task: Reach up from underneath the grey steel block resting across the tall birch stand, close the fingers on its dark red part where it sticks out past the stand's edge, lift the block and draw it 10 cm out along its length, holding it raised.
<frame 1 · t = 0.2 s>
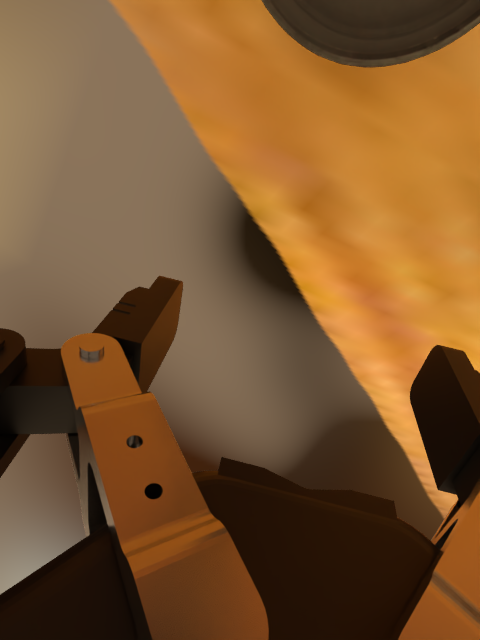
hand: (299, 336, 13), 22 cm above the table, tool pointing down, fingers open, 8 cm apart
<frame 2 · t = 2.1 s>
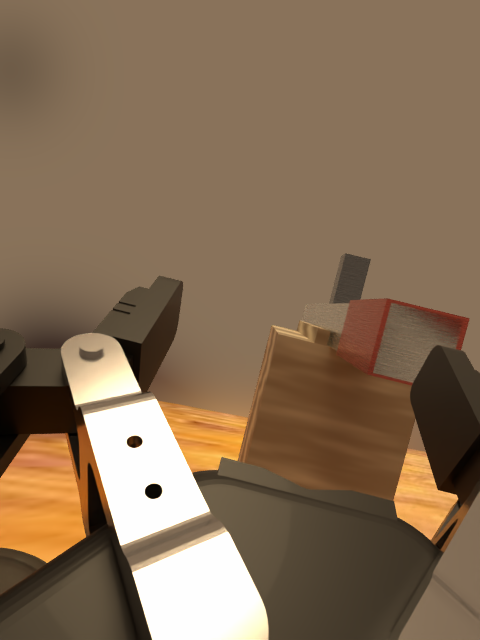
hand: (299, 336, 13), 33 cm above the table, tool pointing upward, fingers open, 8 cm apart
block: (337, 344, 38), point 32 cm above the table, touching stand
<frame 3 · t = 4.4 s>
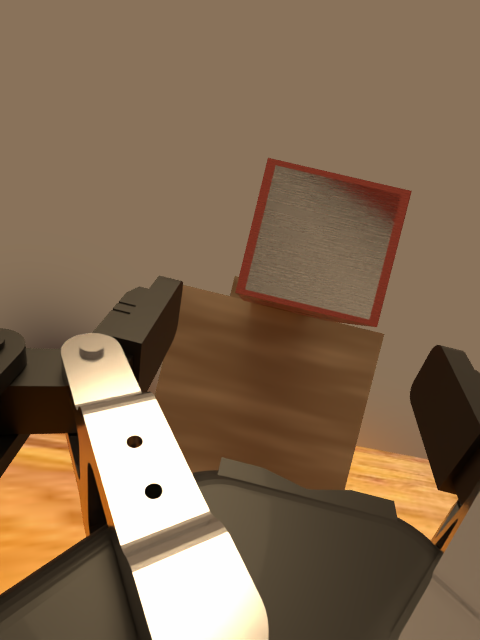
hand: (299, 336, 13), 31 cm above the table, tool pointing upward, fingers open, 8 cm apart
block: (275, 309, 29), point 32 cm above the table, touching stand
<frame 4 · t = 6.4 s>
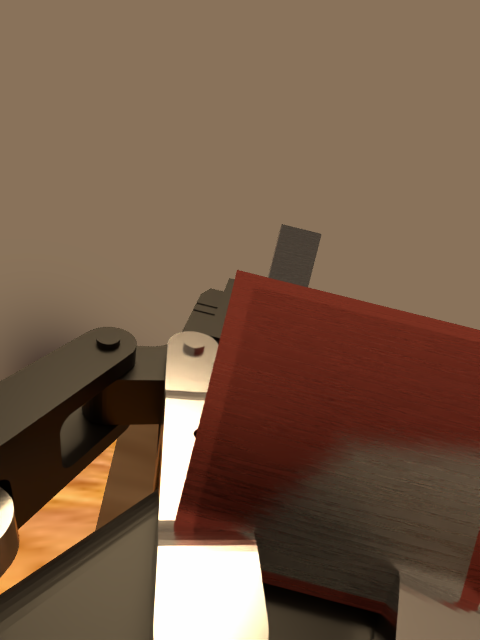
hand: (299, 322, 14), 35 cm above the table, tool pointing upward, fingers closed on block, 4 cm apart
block: (267, 370, 23), point 32 cm above the table, touching gripper, stand
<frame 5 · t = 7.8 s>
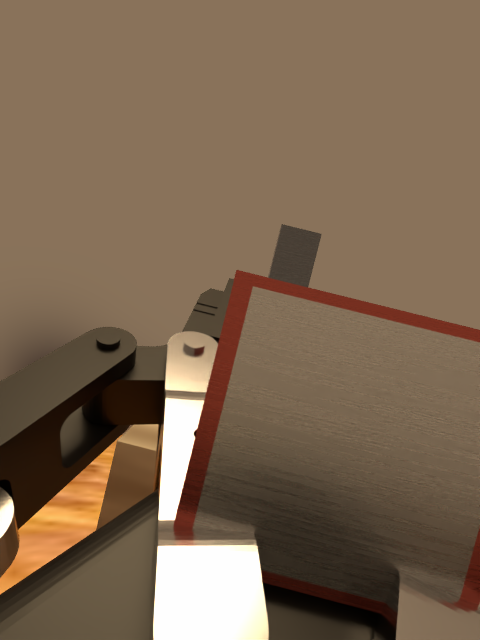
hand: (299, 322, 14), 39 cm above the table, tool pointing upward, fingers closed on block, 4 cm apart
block: (267, 370, 23), point 36 cm above the table, touching gripper
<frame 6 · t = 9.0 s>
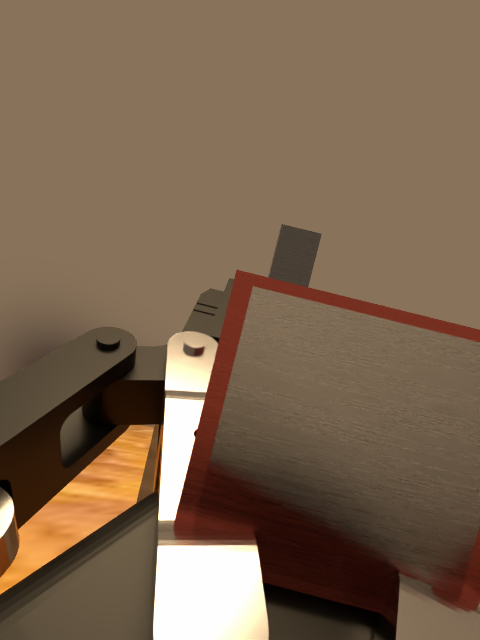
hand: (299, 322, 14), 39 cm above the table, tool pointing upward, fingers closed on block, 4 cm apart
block: (267, 370, 23), point 36 cm above the table, touching gripper
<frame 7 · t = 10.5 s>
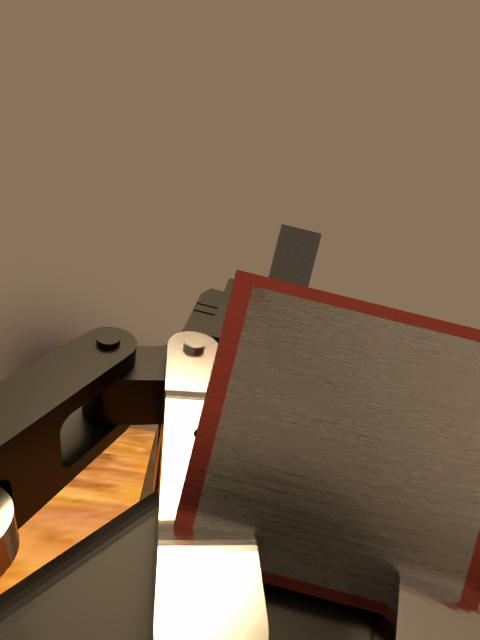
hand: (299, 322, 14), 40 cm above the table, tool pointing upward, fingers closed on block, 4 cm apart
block: (267, 370, 23), point 37 cm above the table, touching gripper
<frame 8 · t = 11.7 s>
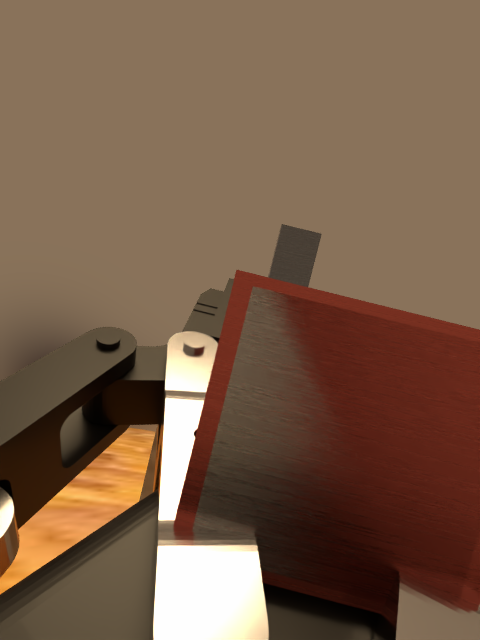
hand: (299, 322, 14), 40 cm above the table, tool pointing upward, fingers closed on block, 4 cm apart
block: (267, 370, 23), point 37 cm above the table, touching gripper
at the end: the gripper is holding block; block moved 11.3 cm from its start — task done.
